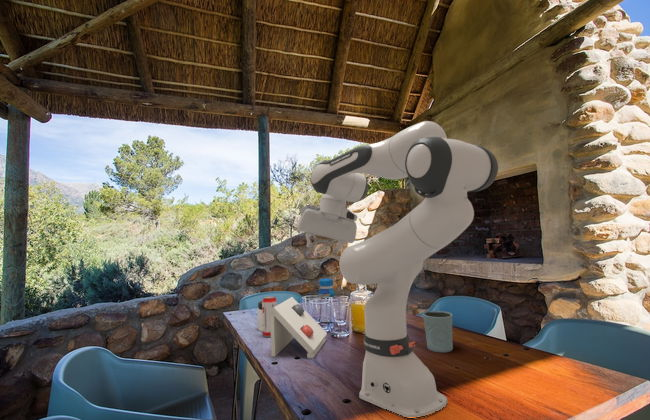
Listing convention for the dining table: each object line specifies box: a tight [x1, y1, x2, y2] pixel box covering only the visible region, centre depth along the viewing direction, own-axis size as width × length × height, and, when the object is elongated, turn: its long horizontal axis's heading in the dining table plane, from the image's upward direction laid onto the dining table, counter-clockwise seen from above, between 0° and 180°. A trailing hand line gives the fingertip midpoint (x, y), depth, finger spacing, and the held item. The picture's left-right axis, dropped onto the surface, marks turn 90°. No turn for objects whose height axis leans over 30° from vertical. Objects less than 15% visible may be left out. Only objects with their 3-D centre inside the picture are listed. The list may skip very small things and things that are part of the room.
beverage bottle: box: [317, 278, 336, 299], centre depth 163 cm, size 8×8×20 cm
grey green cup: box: [422, 310, 454, 353], centre depth 121 cm, size 10×10×12 cm
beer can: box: [261, 295, 278, 338], centre depth 143 cm, size 6×6×16 cm
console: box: [270, 296, 328, 359], centre depth 126 cm, size 16×20×17 cm
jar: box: [256, 300, 263, 333], centre depth 153 cm, size 9×8×12 cm
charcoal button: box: [293, 303, 305, 316], centre depth 131 cm, size 5×4×5 cm
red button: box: [300, 325, 314, 338], centre depth 121 cm, size 5×4×5 cm
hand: (322, 250), depth 113 cm, fingers open, 8 cm apart
